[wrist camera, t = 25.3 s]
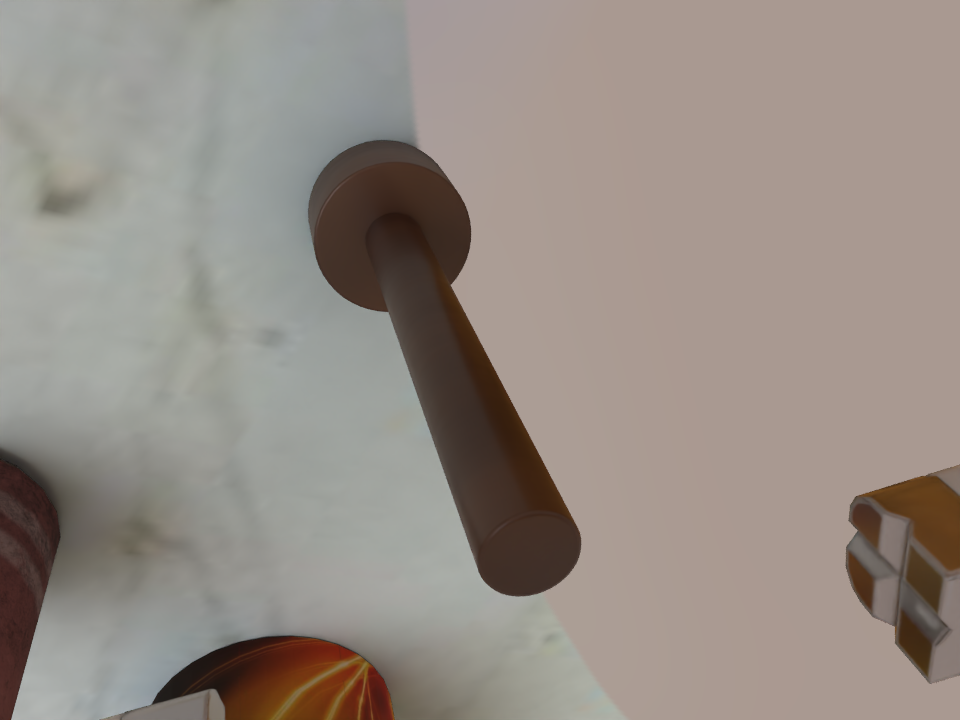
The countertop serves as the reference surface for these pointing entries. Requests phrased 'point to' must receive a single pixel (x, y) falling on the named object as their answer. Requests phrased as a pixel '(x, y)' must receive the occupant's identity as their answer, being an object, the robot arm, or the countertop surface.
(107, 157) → the countertop surface
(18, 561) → the can
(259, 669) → the mug
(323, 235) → the disc-capped wooden dowel
